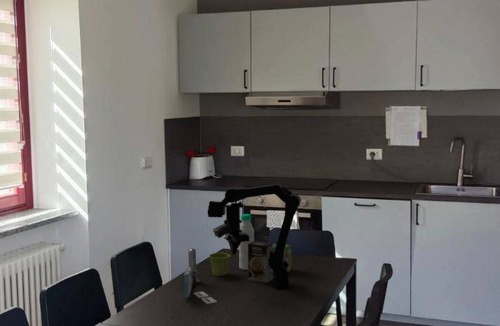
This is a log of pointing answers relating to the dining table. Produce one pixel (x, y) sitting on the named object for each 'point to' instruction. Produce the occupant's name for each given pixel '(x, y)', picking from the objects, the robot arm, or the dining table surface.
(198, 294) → the psu label
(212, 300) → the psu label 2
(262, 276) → the coffee box
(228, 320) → the dining table surface
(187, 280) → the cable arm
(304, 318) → the dining table surface
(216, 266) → the plant pot
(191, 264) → the post
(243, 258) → the water bottle
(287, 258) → the chalk box
